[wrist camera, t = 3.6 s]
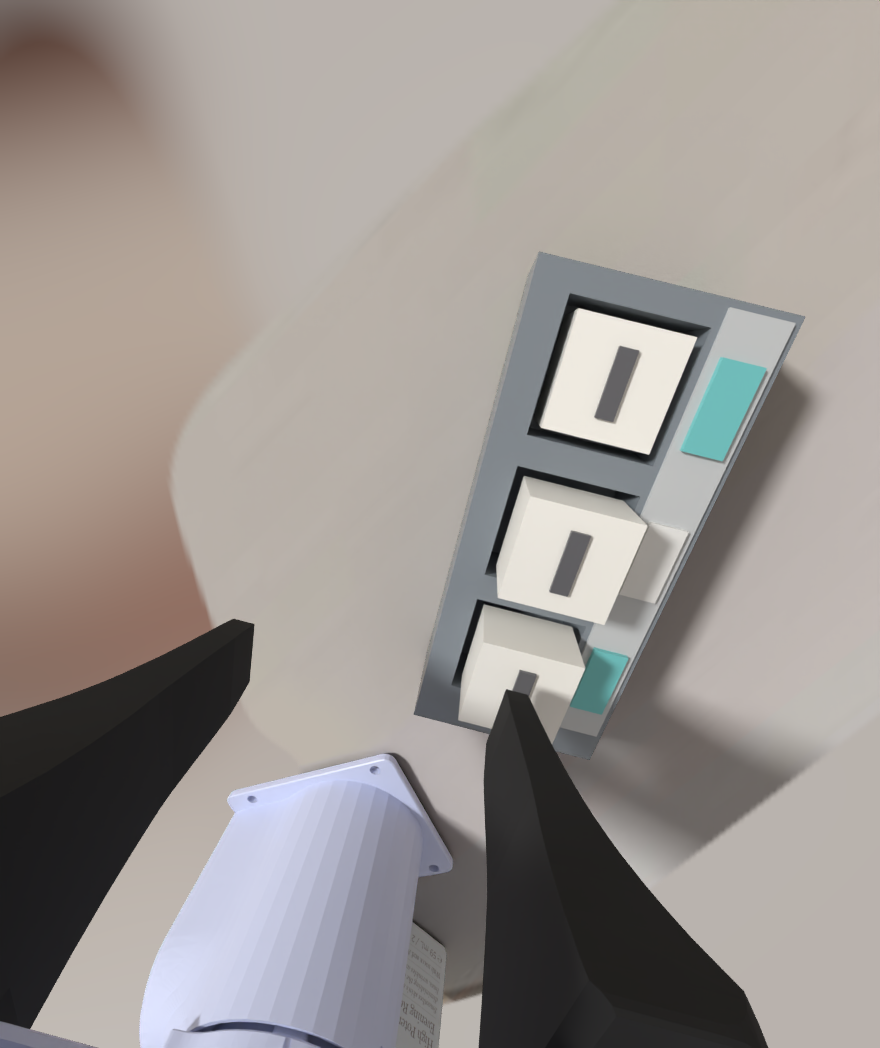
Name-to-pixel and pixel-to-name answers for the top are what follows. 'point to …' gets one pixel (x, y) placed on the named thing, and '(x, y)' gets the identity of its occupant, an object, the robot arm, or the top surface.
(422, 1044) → the skincare box
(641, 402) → the button
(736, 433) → the console
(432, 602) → the top surface
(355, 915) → the robot arm
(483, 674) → the button
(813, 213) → the top surface
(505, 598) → the button middle
